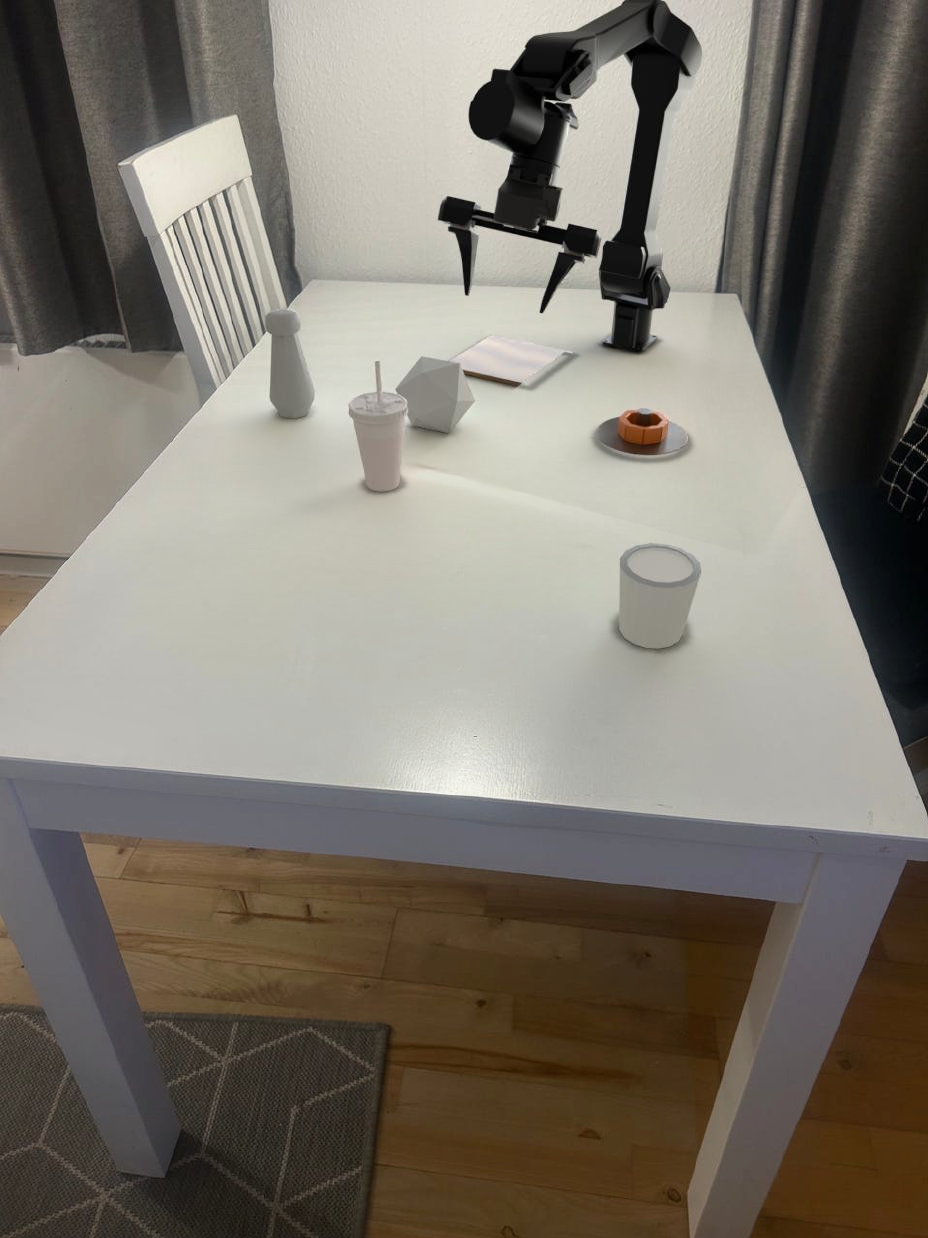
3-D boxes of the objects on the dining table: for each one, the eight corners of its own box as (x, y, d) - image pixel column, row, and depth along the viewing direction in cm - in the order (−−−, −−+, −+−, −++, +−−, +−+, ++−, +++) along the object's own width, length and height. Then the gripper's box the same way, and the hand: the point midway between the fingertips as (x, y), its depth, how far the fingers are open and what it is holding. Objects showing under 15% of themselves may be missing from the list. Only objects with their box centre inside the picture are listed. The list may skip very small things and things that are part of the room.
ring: (629, 420, 114) (631, 405, 113) (672, 430, 112) (674, 415, 111) (611, 437, 110) (613, 422, 109) (655, 448, 108) (657, 432, 107)
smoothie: (419, 475, 105) (415, 356, 96) (398, 501, 100) (391, 379, 91) (368, 466, 106) (359, 349, 98) (345, 492, 101) (333, 371, 93)
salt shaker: (321, 403, 121) (311, 304, 113) (311, 422, 116) (299, 320, 108) (278, 401, 121) (264, 303, 113) (266, 420, 116) (251, 318, 109)
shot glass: (604, 608, 84) (611, 543, 80) (677, 604, 84) (688, 540, 80) (621, 655, 78) (629, 589, 74) (699, 651, 79) (712, 584, 75)
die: (485, 424, 117) (458, 349, 116) (476, 417, 108) (448, 336, 107) (423, 447, 118) (397, 373, 118) (410, 443, 110) (381, 363, 109)
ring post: (617, 414, 118) (620, 385, 115) (699, 432, 113) (704, 404, 111) (581, 447, 110) (583, 418, 108) (668, 469, 106) (672, 438, 103)
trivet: (490, 338, 139) (490, 334, 139) (574, 355, 134) (574, 351, 133) (442, 369, 130) (442, 364, 130) (529, 388, 124) (530, 384, 124)
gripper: (443, 132, 97) (414, 285, 102) (614, 170, 95) (576, 323, 101) (460, 149, 107) (433, 287, 113) (615, 183, 106) (580, 321, 111)
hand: (503, 304), depth 109 cm, fingers open, 9 cm apart
